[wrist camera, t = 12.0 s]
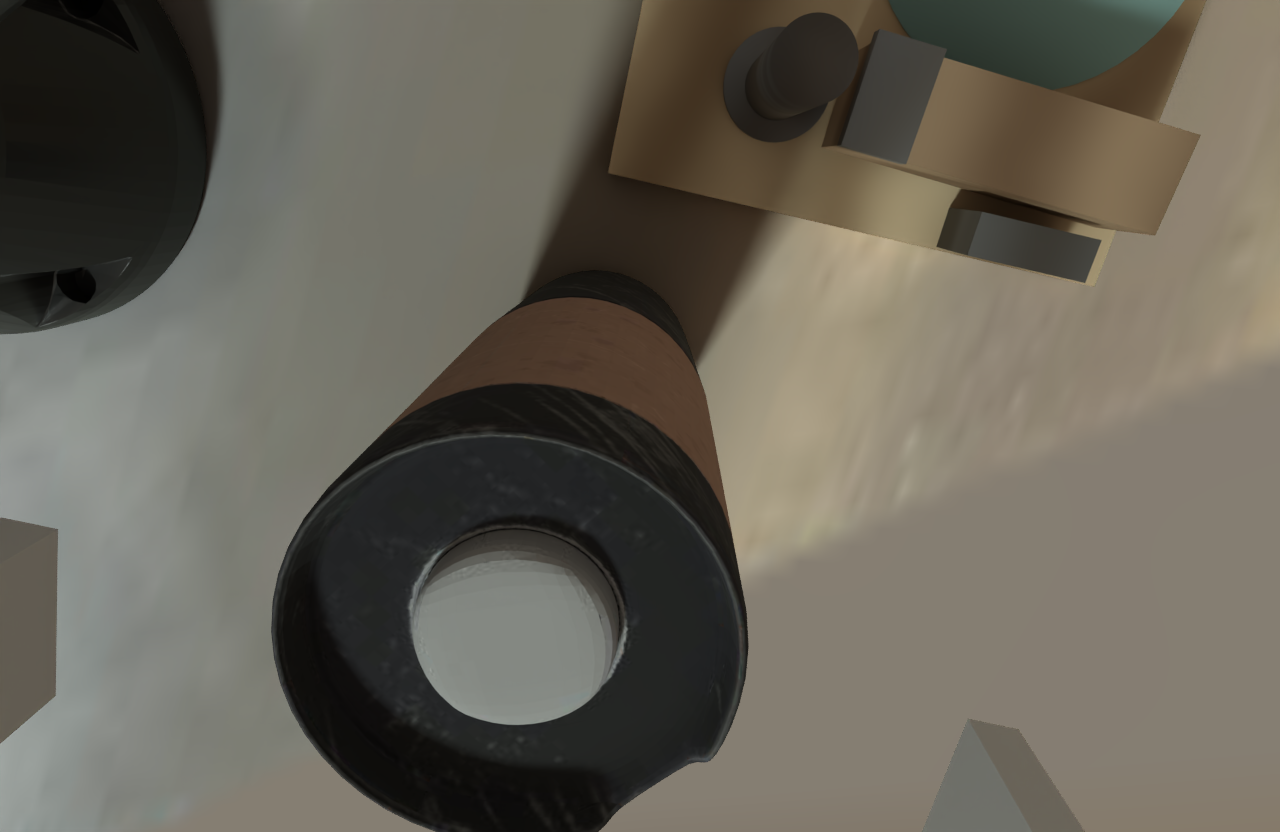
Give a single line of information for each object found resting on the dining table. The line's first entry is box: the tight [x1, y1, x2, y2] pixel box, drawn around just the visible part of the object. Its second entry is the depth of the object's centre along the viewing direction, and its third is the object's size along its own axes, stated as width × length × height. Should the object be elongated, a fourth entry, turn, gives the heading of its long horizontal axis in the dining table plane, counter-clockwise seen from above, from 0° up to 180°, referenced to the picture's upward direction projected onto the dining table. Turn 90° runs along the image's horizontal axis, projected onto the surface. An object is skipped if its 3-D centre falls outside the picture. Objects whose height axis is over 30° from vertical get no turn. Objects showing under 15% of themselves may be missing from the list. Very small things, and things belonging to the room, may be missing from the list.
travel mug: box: [271, 271, 748, 832], centre depth 22 cm, size 8×8×20 cm
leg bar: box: [821, 29, 1201, 235], centre depth 25 cm, size 10×3×4 cm, turn 75°
